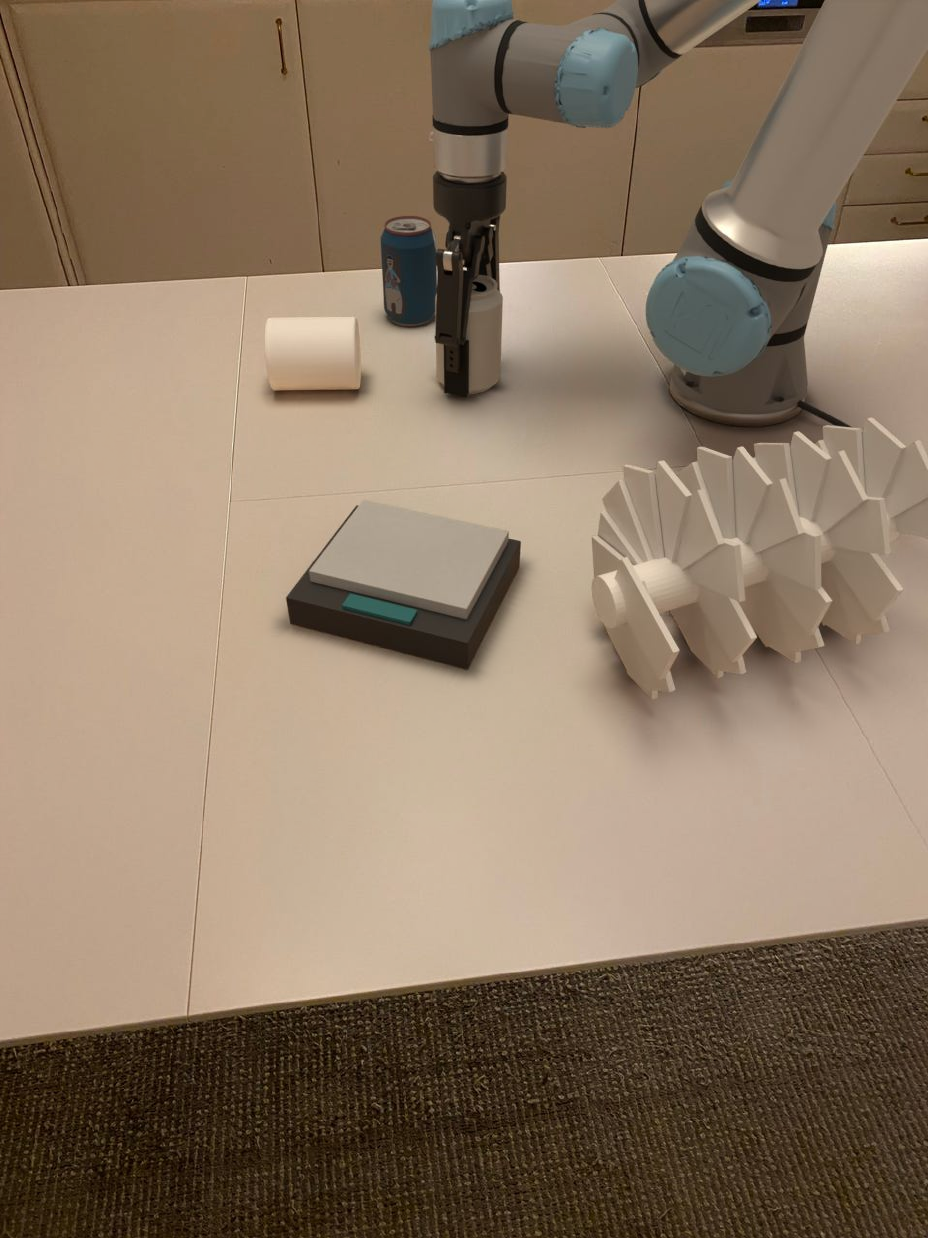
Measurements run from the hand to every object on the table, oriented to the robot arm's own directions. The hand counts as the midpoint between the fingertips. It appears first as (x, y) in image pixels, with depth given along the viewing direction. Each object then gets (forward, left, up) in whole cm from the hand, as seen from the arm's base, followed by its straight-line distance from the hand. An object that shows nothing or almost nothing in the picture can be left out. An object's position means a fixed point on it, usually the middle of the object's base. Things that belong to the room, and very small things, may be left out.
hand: (468, 376), depth 112 cm
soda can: (+13, -14, -1) cm, 19 cm away
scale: (-8, +38, -1) cm, 39 cm away
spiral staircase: (-35, +34, -1) cm, 49 cm away
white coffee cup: (+17, +5, -1) cm, 18 cm away
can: (0, 0, -1) cm, 1 cm away
